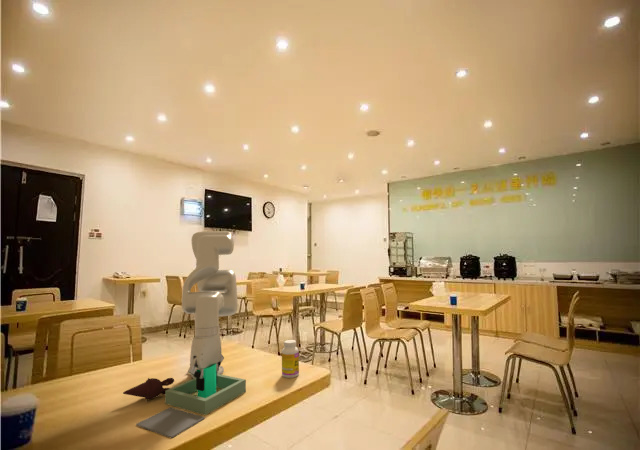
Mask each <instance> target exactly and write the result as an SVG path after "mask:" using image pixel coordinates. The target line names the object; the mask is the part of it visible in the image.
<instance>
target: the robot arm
mask: <svg viewBox="0 0 640 450" xmlns="http://www.w3.org/2000/svg"><path fill="white" fill-rule="evenodd" d="M234 246H235V241H234V237H233V235H232V232H230V231H228V230H220V231H219V230H217V231H215V230H206V231H205V230H204V231H198V232H195V233H193V234H192V236H191V248H192V249H191V250H192V252H193V254H194V257H195V259H196V260H195V261H196V262H195V265H196V266H195V268H194V270H192V271H191V272H190V273H189V275H188V276H187V277H186V279H185V280H184V282H183V284H182V285H183V286H182V294H181V309H182V311H183V313H185V314H187V315H188V314H189V315H193V316H194V336H193V338H192V342H191V347H190V359H189V368H188V371H187V372H188V373H189V374H190V377H191V378H192V379H193V378H196V389H197V391H198V390H200V391H204V378H203V375H204V368H207V367H209V366H211V365H214V364H215V363H216V384H217V374H221V375H223V373H224V372H225V371H224V370H225V369H224V368H225V367H224V366H221V364H222V362H223V361H224V359H225V357H224V356H223V354H222V353H223V352H222V340H221V330H220V329H221V328H220V327H221V326H220V324H219V323H220V322H219V321H220V320H219V319H220V318H219V317H228V316H234V315H235V314H236V313H237V311H238V306H239V305H238V288H237V285H238V284H237V277H236V274H235V272H234V271H233V270H231V269H220V260H219V259H220V257H219V256H223V255H224V256H225V255H231V254H233V251H234V249H235V247H234ZM194 285H197V289H198V291H195V292H194V291H192V292H191V289H192V288H193V287H194ZM199 370H200V373H199V372H198V371H199Z"/></svg>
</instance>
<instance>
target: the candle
mask: <svg viewBox="0 0 640 450" xmlns="http://www.w3.org/2000/svg"><path fill="white" fill-rule="evenodd" d="M198 372H199V373H200V370H199V371H198ZM203 378H204V391H200V390H197V396H199V397H203V398H207V397H209V396H211V395H213V394H215V393H216V392H217V387H216V363H215V364H214V365H211V366H209V367H207V368H204V375H203Z"/></svg>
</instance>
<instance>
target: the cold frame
mask: <svg viewBox="0 0 640 450" xmlns="http://www.w3.org/2000/svg"><path fill="white" fill-rule="evenodd" d="M170 388H171V389H168V390H166V391H165V394H164V396H165V397H164V398H165V399H164V404H166V405H168V406H172V407H174V408H175V407H176V408H177V409H183V410H184V411H186V410H187V411H189V412H191V413H192V412H193V413H195V414H196V413H197V414H198V415H199V414H200V415H201V416H202V415H203V416H206V415H208V414H210V413H212V412H213V411H215V410H217V409H218V408H220V407H222V406H223V405H225V404H227V403H229V402H231V401H232V400H234V399H235V398H237V397H240V395H242V394H244V393H246V392H247V380H246V378H245V379H244V378H239V377H234V376H230V375H225V374H217V384H216V388H219V389H220V390H219V391H216V393H215V394H213V395H211V396H209V397H207V398H203V397H199V396H198V395H194V394H193V393H195V392H198V390H197V389H196V378H192V379H189V380H187V381H184V382H181V383H180V384H178V385H175V386H173V387H170Z"/></svg>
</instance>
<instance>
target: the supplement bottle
mask: <svg viewBox="0 0 640 450" xmlns="http://www.w3.org/2000/svg"><path fill="white" fill-rule="evenodd" d="M283 345H284V347H283V348H282V350H281V375H282V377H283V378H287V379H291V378H296V377H298V376H299V374H300V363H299V362H300V358H299V357H300V355H299V352H300V351H299V347H297V341H296V340H295V339H286V340H283Z"/></svg>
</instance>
